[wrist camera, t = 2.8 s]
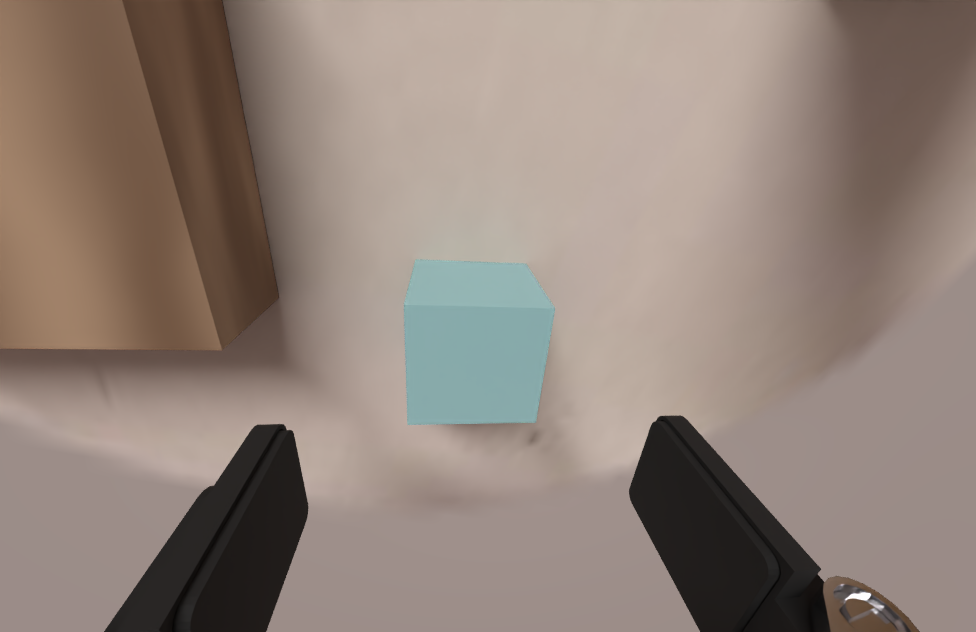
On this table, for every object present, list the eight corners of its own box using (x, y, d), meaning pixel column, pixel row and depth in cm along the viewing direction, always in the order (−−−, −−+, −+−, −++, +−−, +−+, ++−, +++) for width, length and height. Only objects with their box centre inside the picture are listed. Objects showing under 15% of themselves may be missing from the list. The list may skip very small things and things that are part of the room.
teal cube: (525, 263, 16) (555, 308, 12) (514, 355, 19) (535, 422, 14) (415, 258, 16) (403, 304, 11) (417, 354, 18) (407, 424, 14)
